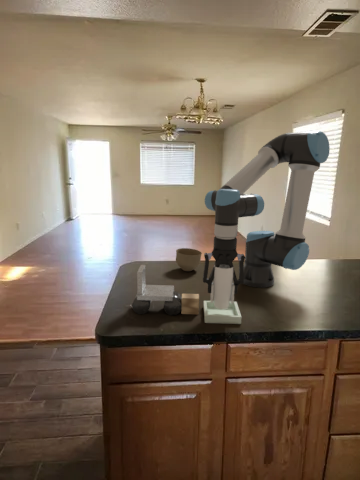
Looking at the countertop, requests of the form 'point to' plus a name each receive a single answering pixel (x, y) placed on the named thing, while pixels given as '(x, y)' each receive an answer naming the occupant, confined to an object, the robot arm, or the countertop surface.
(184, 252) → the bowl
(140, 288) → the grey toy cart
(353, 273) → the countertop surface
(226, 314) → the tray
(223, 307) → the drinking glass
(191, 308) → the wooden block
